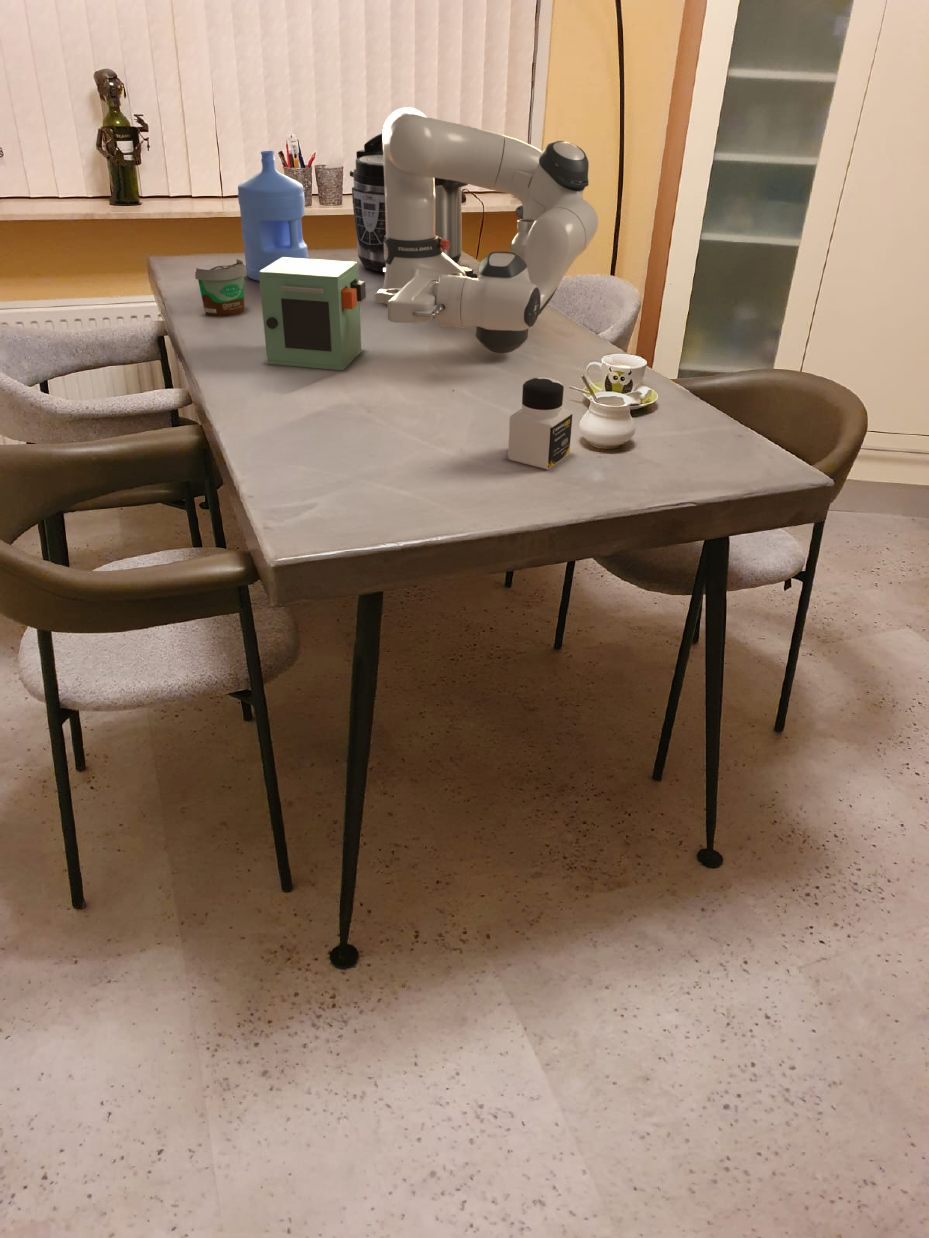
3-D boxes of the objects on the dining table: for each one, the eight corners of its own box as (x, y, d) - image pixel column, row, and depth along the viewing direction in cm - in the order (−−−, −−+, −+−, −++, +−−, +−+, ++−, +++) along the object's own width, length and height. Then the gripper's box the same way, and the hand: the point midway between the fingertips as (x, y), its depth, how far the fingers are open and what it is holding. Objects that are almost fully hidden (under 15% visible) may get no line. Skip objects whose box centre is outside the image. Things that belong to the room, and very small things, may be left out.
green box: (361, 351, 190) (357, 262, 181) (340, 372, 179) (335, 278, 170) (289, 345, 192) (282, 257, 183) (264, 366, 181) (255, 273, 172)
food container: (219, 322, 205) (213, 273, 200) (200, 316, 208) (193, 268, 203) (262, 309, 214) (257, 263, 208) (243, 305, 217) (238, 258, 211)
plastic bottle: (518, 323, 207) (520, 224, 197) (503, 316, 213) (504, 219, 202) (543, 319, 210) (547, 221, 200) (528, 312, 215) (530, 217, 205)
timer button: (365, 297, 182) (365, 281, 180) (361, 301, 180) (360, 285, 178) (350, 296, 183) (349, 280, 181) (345, 300, 180) (345, 284, 179)
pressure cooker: (338, 257, 257) (331, 124, 240) (436, 249, 267) (436, 121, 250) (374, 283, 234) (369, 139, 217) (480, 274, 244) (483, 135, 227)
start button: (357, 305, 178) (356, 288, 176) (352, 309, 175) (351, 292, 174) (341, 304, 178) (340, 287, 176) (336, 308, 176) (335, 291, 174)
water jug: (232, 276, 238) (219, 152, 223) (277, 265, 249) (267, 145, 233) (278, 286, 230) (267, 158, 215) (322, 274, 241) (315, 151, 226)
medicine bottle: (548, 470, 143) (553, 393, 137) (507, 460, 146) (510, 383, 140) (570, 455, 148) (576, 379, 142) (529, 444, 152) (533, 370, 145)
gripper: (436, 334, 168) (360, 328, 171) (461, 304, 185) (392, 299, 187) (436, 298, 165) (359, 292, 167) (462, 270, 182) (391, 265, 184)
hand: (377, 295), depth 178 cm, fingers closed
